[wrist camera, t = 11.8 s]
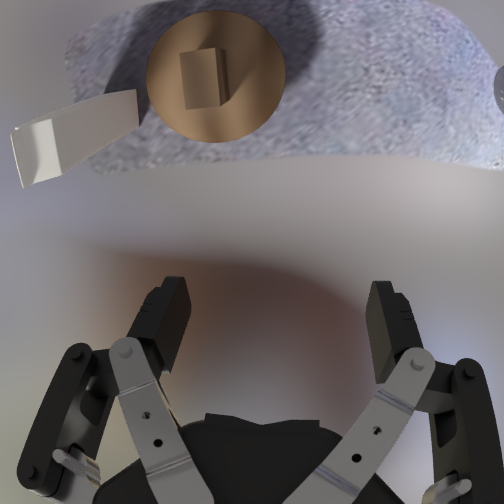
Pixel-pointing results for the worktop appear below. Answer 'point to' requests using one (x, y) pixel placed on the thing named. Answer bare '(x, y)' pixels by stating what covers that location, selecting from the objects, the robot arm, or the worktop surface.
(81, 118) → the milk
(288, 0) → the worktop surface
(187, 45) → the lid
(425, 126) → the worktop surface
